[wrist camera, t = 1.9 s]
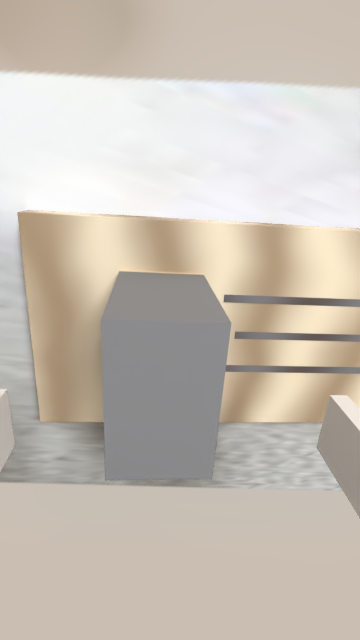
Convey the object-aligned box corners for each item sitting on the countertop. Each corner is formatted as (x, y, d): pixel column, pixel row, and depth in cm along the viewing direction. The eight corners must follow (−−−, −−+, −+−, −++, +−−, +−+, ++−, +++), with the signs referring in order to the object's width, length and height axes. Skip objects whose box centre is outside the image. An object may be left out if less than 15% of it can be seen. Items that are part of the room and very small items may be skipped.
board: (48, 404, 26) (40, 422, 24) (29, 209, 20) (17, 212, 19) (396, 406, 28) (414, 422, 26) (457, 234, 23) (484, 238, 21)
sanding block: (193, 386, 24) (211, 478, 16) (120, 385, 23) (105, 480, 16) (203, 273, 21) (231, 323, 13) (120, 270, 20) (101, 319, 13)
